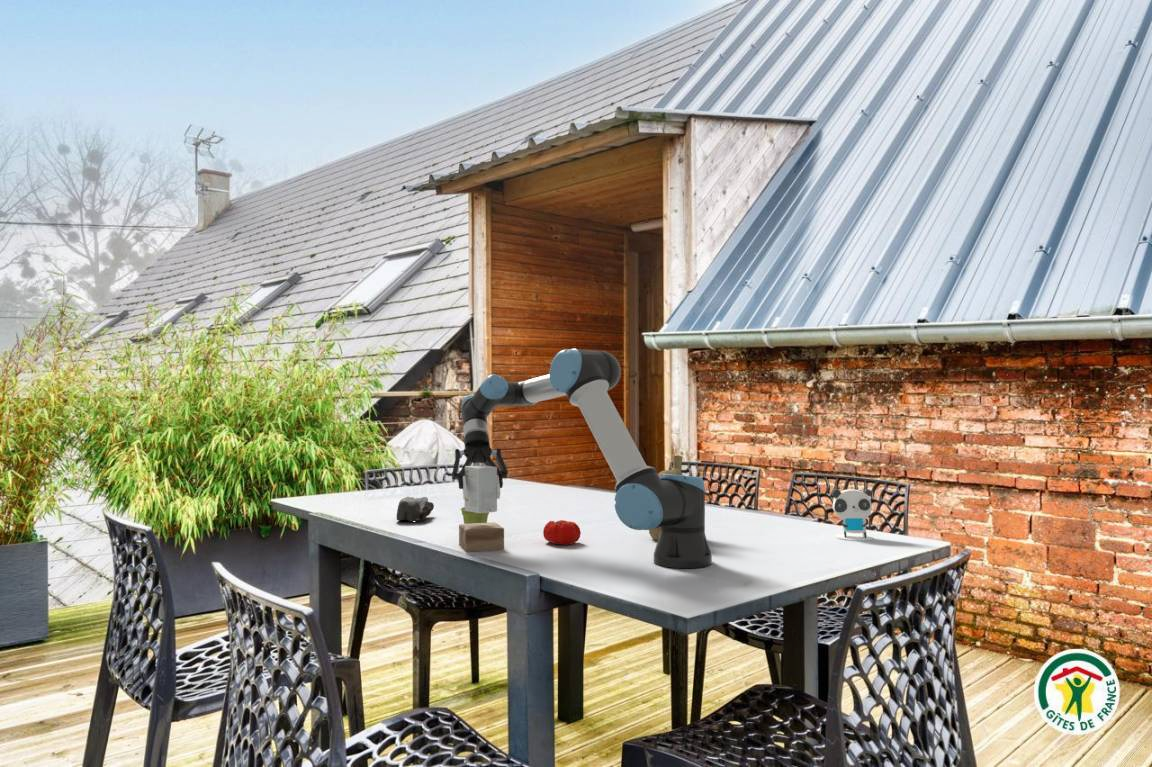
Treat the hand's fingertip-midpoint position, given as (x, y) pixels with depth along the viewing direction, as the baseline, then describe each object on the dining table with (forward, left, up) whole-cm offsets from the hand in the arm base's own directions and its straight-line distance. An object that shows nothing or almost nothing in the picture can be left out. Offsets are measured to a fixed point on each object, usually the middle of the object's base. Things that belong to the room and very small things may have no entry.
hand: (482, 496), depth 234 cm
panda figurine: (-17, -112, -15) cm, 115 cm away
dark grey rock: (+62, +11, -15) cm, 65 cm away
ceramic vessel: (-1, -59, -15) cm, 61 cm away
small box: (+3, 0, -5) cm, 6 cm away
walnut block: (+3, 0, -15) cm, 15 cm away
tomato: (+2, -24, -15) cm, 29 cm away
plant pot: (+22, -2, -15) cm, 27 cm away
